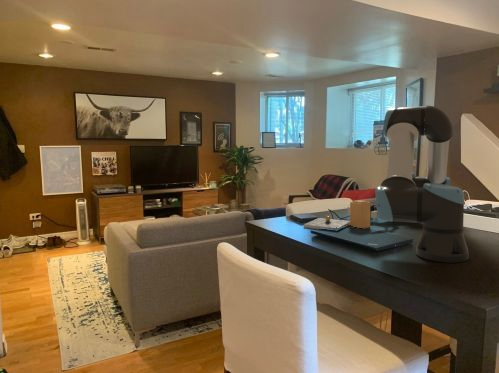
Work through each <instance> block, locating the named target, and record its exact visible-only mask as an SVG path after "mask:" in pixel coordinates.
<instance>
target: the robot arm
mask: <svg viewBox="0 0 499 373" xmlns="http://www.w3.org/2000/svg"><path fill="white" fill-rule="evenodd" d="M383 121H384V122H383V135H384V137H385V138H386V137H387V140H388V141H389V146H388V148H389V149H388V157H387V158H388V159H387V166H386V167H387V169H386V176H385V177H386V178H384V179H383V180H382V181H381V184H380V185H378V186H376V187H375V190H374V191H375V203H370V219H376V218H378V219H379V220H381V221H386V222H387V221H388V222H391V223H392V222H399V223H400V222H403V223H419V224H422V230H421V234H420V237H419V238H418V242H417V244H416V247H415V250H416V251H415V252H416V255H417V256H418V257H420V258H423V259H424V260H429V261H433V262H440V263H452V264H454V263H455V264H456V263H464V262H466V261H468V260H469V259H470V258H469V256H470V255H469V254H470V253H469V247H468V246H467V242H466V239H465V236H464V219H465V218H464V214H465V213H464V212H465V209H464V208H465V204H466V202H465V193H464V190H463V189H462V188H460V187H457V186H455V185H454V186H453V185H451V177H448V176H447V170H448V160H449V159H448V158H449V148H450V140H451V139H452V138H453V135H454V128H453V127H454V125H453V123H452V121H451V119H450V117H449V116H448V115H447V114H446V112H445V111H443V110H442V109H440V108H439V107H436V106H433V105H423V106H422V105H421V106H420V105H419V106H416V105H415V106H404V107H403V106H402V107H401V106H400V107H399V106H398V107H391V108H389V109H387V111H386V112H385V116H384V120H383ZM422 136H423V137H424V136H425V137H426V140H427V141H428V148H427V150H428V151H427V152H428V153H427V176H416V173H415V172H413V168H414V152H415V151H414V146H415V142H416V141H417V140H418V138H419V137H422ZM347 214H350V206H349V207H347Z"/></svg>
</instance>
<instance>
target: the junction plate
mask: <svg viewBox="0 0 499 373" xmlns="http://www.w3.org/2000/svg"><path fill="white" fill-rule="evenodd" d="M346 225H349V226H350V220H344V219H333V218H331V215H325V218H324V217H318V218H316V219H314V220H311V221H308V222H307V223H306V222H305V223H304V224H303V228H304V229H311V230H312V229H313V230H319V228H336V227H337V228H340V227H342V226H346Z"/></svg>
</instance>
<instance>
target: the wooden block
mask: <svg viewBox="0 0 499 373" xmlns="http://www.w3.org/2000/svg"><path fill="white" fill-rule="evenodd" d="M349 203H350V204H349V207H350V213H349V215H350V216H349V221H350V225H351V226H355V227H359V228H363V229H368V228H371V211H370V204H371V202H370V201H367V200H362V199H359V200H352V201H350V202H349ZM350 225H349V226H350Z"/></svg>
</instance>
